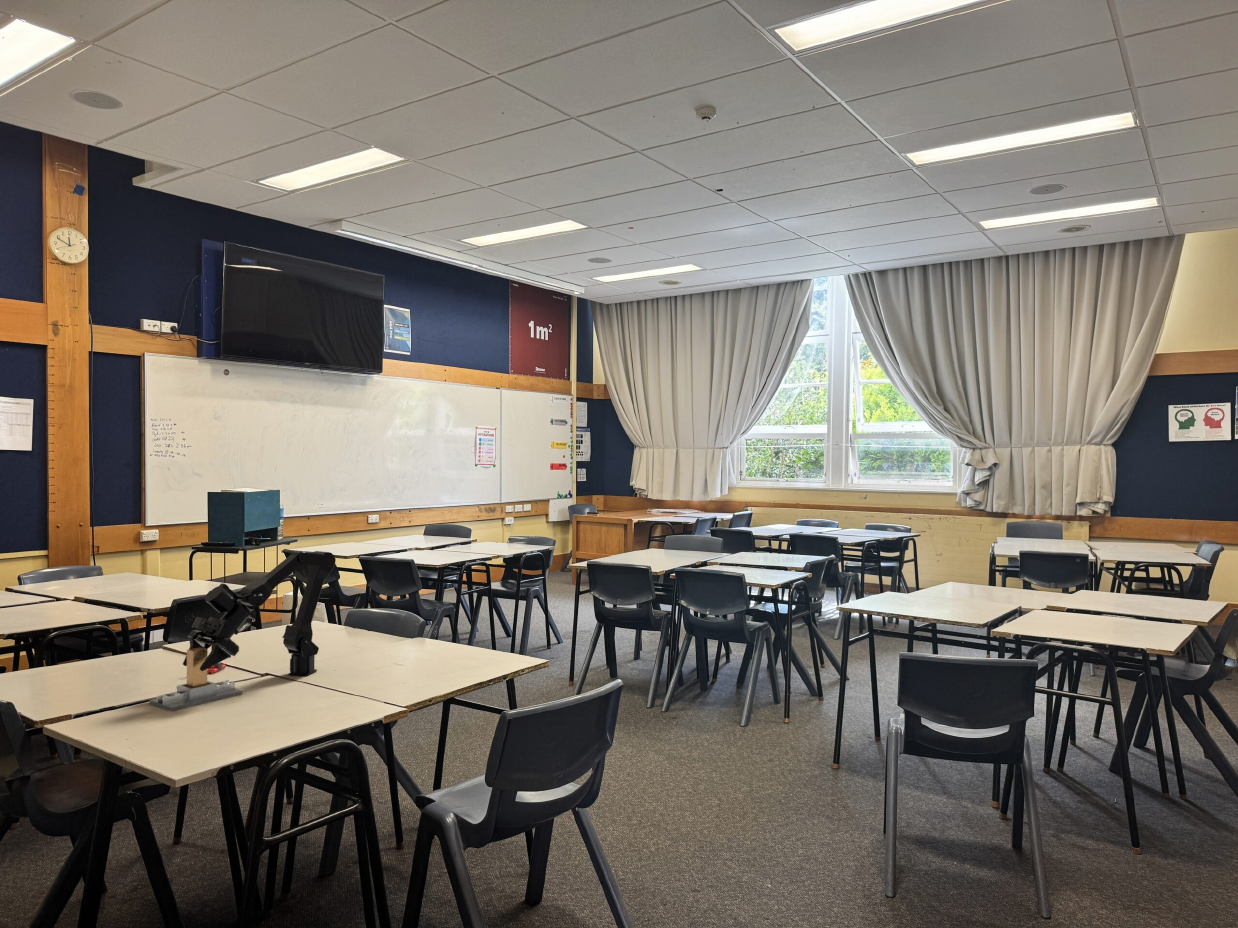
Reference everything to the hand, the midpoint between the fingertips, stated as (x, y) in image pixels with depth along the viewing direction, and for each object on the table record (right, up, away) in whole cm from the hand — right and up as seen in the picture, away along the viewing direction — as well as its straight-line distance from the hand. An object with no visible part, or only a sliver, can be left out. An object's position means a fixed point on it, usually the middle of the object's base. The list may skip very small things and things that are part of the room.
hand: (192, 667), depth 222 cm
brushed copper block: (+1, -8, +1) cm, 8 cm away
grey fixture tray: (+1, -9, +1) cm, 9 cm away
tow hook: (-12, -9, +31) cm, 35 cm away
